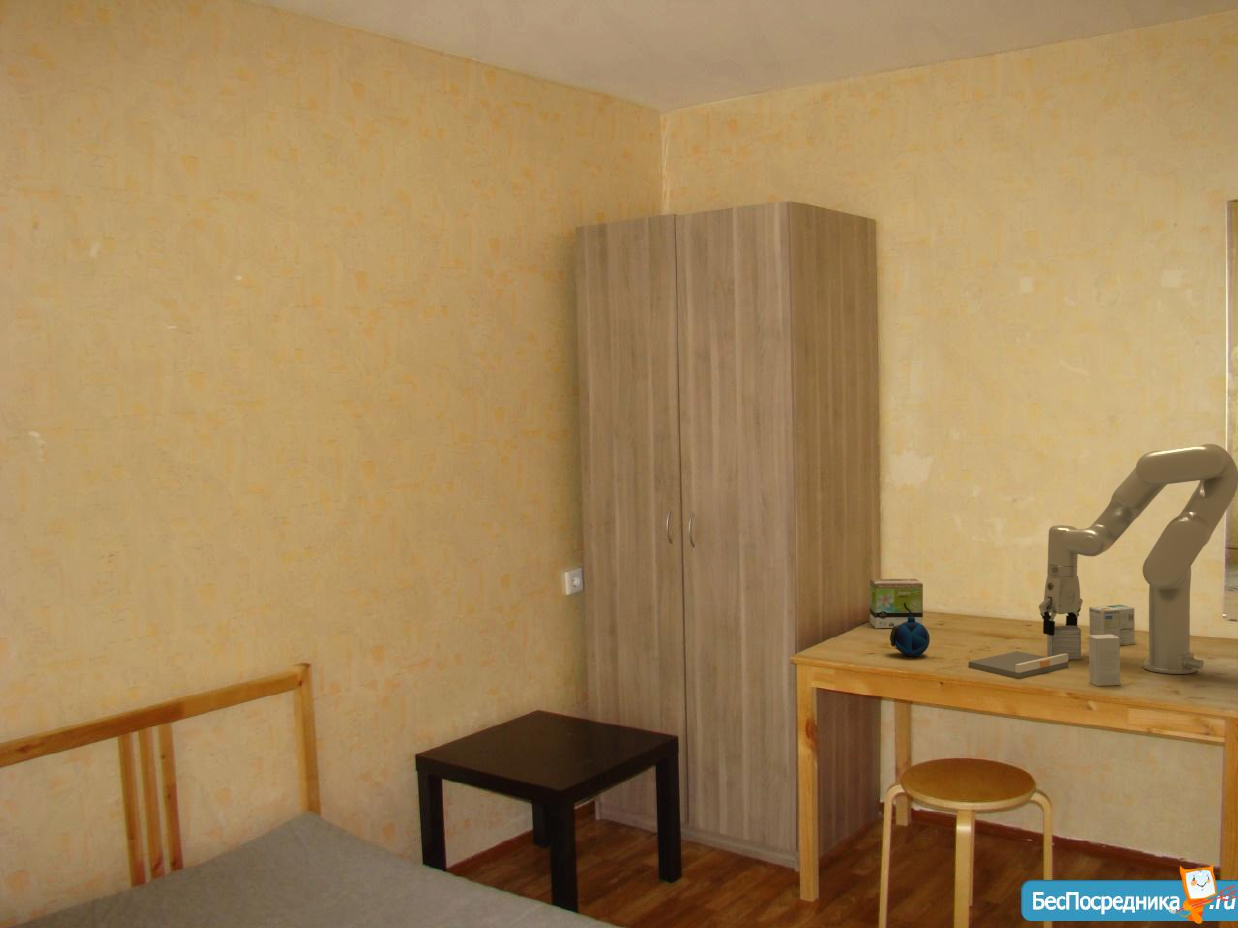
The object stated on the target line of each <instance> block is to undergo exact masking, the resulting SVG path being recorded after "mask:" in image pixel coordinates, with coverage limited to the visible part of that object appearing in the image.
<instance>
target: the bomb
mask: <svg viewBox="0 0 1238 928" xmlns="http://www.w3.org/2000/svg"><path fill="white" fill-rule="evenodd" d="M904 607H905V609H907V610H908V611H909V612H910V617H908V621H907V622H904V623H902V624H900V625H899V626H898V625H896V626H894V627H893V628H891V632H890V635H889V641H890V645H891V647H893V648H894V649H895V650H897V651H899V653H901V654H902V655H904V656H906V657H917V656H921V655H922V654H924V653H925V652H926V651H927V649H928V648H929V645H930V641H931V639H930V634H929V631H928V629H927V628H926V626H924V624H923V625H922V624H920V623H918V622H915V618H914V617H912V612H911V611H910V610H909V609H908V608H907V607H906V603H904Z"/></svg>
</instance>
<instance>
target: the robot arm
mask: <svg viewBox="0 0 1238 928" xmlns="http://www.w3.org/2000/svg"><path fill="white" fill-rule="evenodd" d="M1130 472H1131V473H1129V474H1128V476H1127V477H1126V478H1125V479H1124V480H1123V481H1122V482H1121V483H1120V485H1119V486H1118V487H1117V488H1116V489H1115V491H1114V492H1113V493H1112V496H1111V499H1110V501H1109V504H1108V505H1107V507H1106V508H1105V509H1104V510H1103V511H1102V513H1101V514H1100V515H1099V517H1097V518H1096V520H1095V521H1094V522H1093V523H1092V524H1091V525H1090V526H1089V527H1087V528H1080V529H1079V528H1077V527H1075V526H1071V525H1065V524H1064V525H1062V524H1061V525H1057V524H1056V525H1052V526H1051V527H1050V528H1049V530H1048V542H1047V543H1048V544H1047V545H1048V546H1047V572H1046V573H1047V574H1046V575H1047V576H1046V580H1045V585H1044V587H1045V588H1044V596H1043V601H1042V602H1041V603H1040V604H1039V605H1038V609H1039V611H1040V612H1039V613H1040V616H1041V619H1042V620H1043V626H1042V627H1043V628H1042V633H1043V635H1046V636H1047V635H1051V636H1054V634H1055V626H1056V621H1055V618H1056V616H1057V614H1058V615H1065V614H1066V616H1065V626H1077V627H1078V619H1079V616H1080V612H1081V610H1082V605H1083V599H1082V598H1081V587H1080V580H1079V576H1078V557H1079V556H1085V557H1092V558H1093V557H1097V556H1099V555H1102V554H1103V553H1104V552H1106V551H1108V550H1109V549H1110V548H1111V547H1112V546H1113V545H1114V544H1115V543H1116V542H1117V541H1118V540H1119V538H1120V537H1121V536H1122V535H1123V534H1124V533H1125V532H1126V531H1127V529H1128V528H1130V526H1131V525H1132V524H1133V522H1135V520H1137V519H1138V518H1139V517H1140V515H1142V513H1143V512H1144V511H1145V510H1146V508H1148V506H1149V505H1150V504H1151V502H1153V500H1154V499H1155V498H1156V497H1157V496H1158V495H1159V494H1160V493H1161V492H1162V491H1163V489H1164V488H1165V487H1166V486H1167V485H1170V484H1180V483H1188V482H1195V481H1199V483H1198V485H1197V487H1196V489H1195V490H1194V491H1193V492H1192V494H1191V495H1190V496H1191V497H1190V498H1189V499H1188V501H1187V503H1186V504H1185V506H1184V507H1183V509H1182V511H1181V512H1180V514H1178V515H1177V516H1176V517H1174V518H1173V519H1172V520H1171V521H1170V522H1169V523H1168V524H1167V525H1166V527H1165V528H1164V529H1163V531H1162V532H1161V535H1160V536H1159V537H1158V539H1157V541H1156V542H1155V544H1154V546H1153V547H1152V549H1151V550H1150V551H1149V553H1148V555H1147V557H1146V558H1145V560H1144V562H1143V565H1142V575H1143V578H1144V580H1145V581H1146V583H1147V584H1148V585H1149V588H1148V589H1149V590H1148V659H1147V660H1144V661H1142V668H1143V669H1145V670H1147V671H1150V672H1155V673H1159V674H1167V675H1168V674H1169V675H1188V674H1193V673H1196V672H1197V671H1198V669H1199V670H1202V669H1204V664H1205V661H1204V660H1202V659H1195V653H1193V652H1190V651H1191V649H1190V648H1191V644H1190V643H1191V641H1190V638H1191V636H1190V635H1191V630H1190V627H1191V626H1190V624H1191V622H1190V619H1191V617H1190V614H1191V613H1190V612H1191V581H1192V565H1193V564H1194V561H1196V559H1197V557H1198V556H1199V554H1200V552H1201V551H1202V550H1203V548H1204V547H1205V546H1206V545H1207V544H1208V543H1209V541H1210V540H1211V538H1212V535H1213V533H1214V531H1215V530H1216V527H1217V526H1218V524H1219V523H1220V521H1221V520H1222V518H1223V517H1224V514H1225V513H1226V512H1227V510H1228V508H1229V506H1230V505H1231V503H1232V502H1233V499H1234V497H1235V495H1236V493H1237V490H1238V466H1237V464H1236V462H1235V460H1234V459H1233V457H1232V456H1231V454H1230V453H1229V452H1228V451H1227V450H1226V449H1225V448H1224V447H1222V446H1220V445H1218V444H1215V443H1206V444H1205V443H1204V444H1201V445H1197V446H1191V447H1190V446H1189V447H1184V448H1176V449H1169V450H1168V449H1167V450H1153V451H1149V452H1146V453H1144V454H1142V455H1141V457H1139V459H1138V460H1137V462H1136V465H1135V468H1134V469H1133V470H1132V471H1130ZM1078 555H1079V556H1078Z"/></svg>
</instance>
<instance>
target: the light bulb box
mask: <svg viewBox="0 0 1238 928" xmlns="http://www.w3.org/2000/svg"><path fill="white" fill-rule="evenodd" d="M1088 608H1089V609H1088V614H1089V615H1088V616H1089V617H1088V618H1089V620H1088V621H1089V635H1109V634H1112V635H1114V636H1117V637H1119V638H1120V646H1127V645H1135V644H1136V643H1135V642H1136V640H1135V639H1136V637H1135V635H1136V633H1135V631H1136V630H1135V625H1136V624H1135V621H1136V620H1135V607H1133V606H1128V605H1124V604H1120V603H1119V604H1110V605H1101V606H1100V605H1099V606H1089V607H1088Z"/></svg>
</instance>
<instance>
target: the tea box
mask: <svg viewBox="0 0 1238 928" xmlns="http://www.w3.org/2000/svg"><path fill="white" fill-rule="evenodd" d="M923 598H924V584H923V583H922V582H921V581H920V580H918V579H916V578H870V579H869V623H870V624H871V625H872V626H873V628H874V629H875V630H876V629H893V627H894V626H896V625H898V626H899V625H900V624H902V623H904V622H907V621H908V617H910V612H909V611H908V610H907V609H905V607H904V603H906V607H907V608H908V609H909V610H910V611H911V612H912V617H914V618H915V622H918V623H920V624H922V625H923V626H924V624H923V623H924V621H923V620H924V617H923V616H924V599H923Z"/></svg>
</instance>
